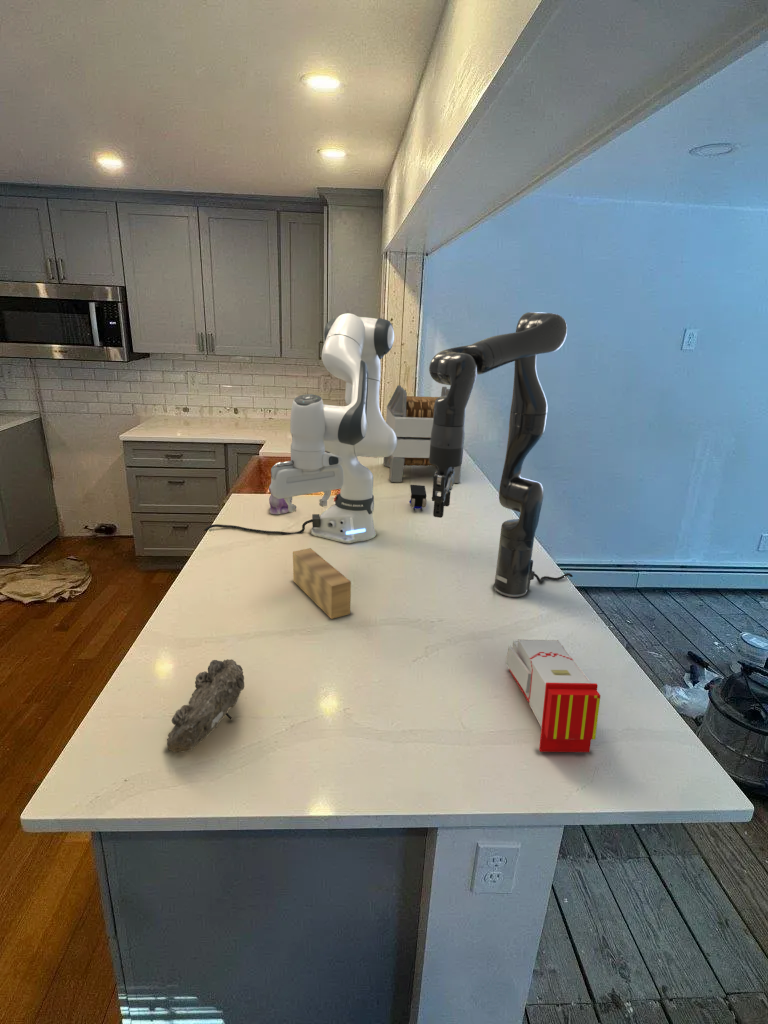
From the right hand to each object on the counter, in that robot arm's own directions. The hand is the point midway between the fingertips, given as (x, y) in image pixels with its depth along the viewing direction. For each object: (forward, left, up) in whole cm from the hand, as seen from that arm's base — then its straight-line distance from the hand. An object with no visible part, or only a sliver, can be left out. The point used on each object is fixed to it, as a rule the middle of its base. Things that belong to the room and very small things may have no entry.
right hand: (441, 511), depth 133 cm
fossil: (+58, +8, -30) cm, 66 cm away
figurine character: (-48, -75, -30) cm, 94 cm away
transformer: (-78, -116, -30) cm, 143 cm away
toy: (-1, +36, -30) cm, 47 cm away
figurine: (+2, -94, -30) cm, 99 cm away
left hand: (+19, -33, -7) cm, 39 cm away
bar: (+19, -26, -30) cm, 44 cm away
